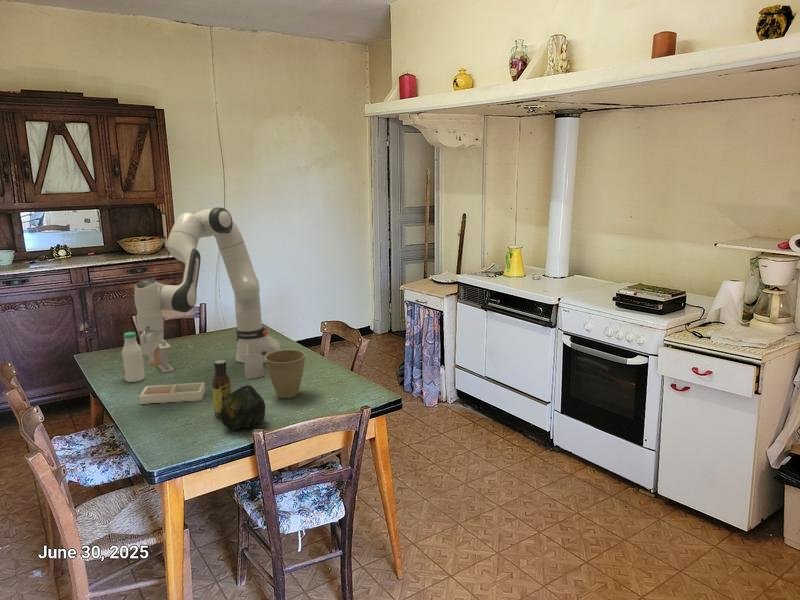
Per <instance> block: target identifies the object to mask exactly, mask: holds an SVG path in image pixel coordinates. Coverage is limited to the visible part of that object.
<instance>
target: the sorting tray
mask: <svg viewBox="0 0 800 600" xmlns="http://www.w3.org/2000/svg"><path fill="white" fill-rule="evenodd" d="M205 394H206V383H205V381H203V382H190V383H189V382H188V383H176V384H174V383H173V384H162V385H147V386H144V388H143V390H142V391H141V393H140V395H139V396H138V397H139V404H147V405H149V404H148V403H161V404H167V403H166V402H175V403H184V402H183V401H188V402H200V401H201V400H202V401H203V398H204V396H205Z"/></svg>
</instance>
